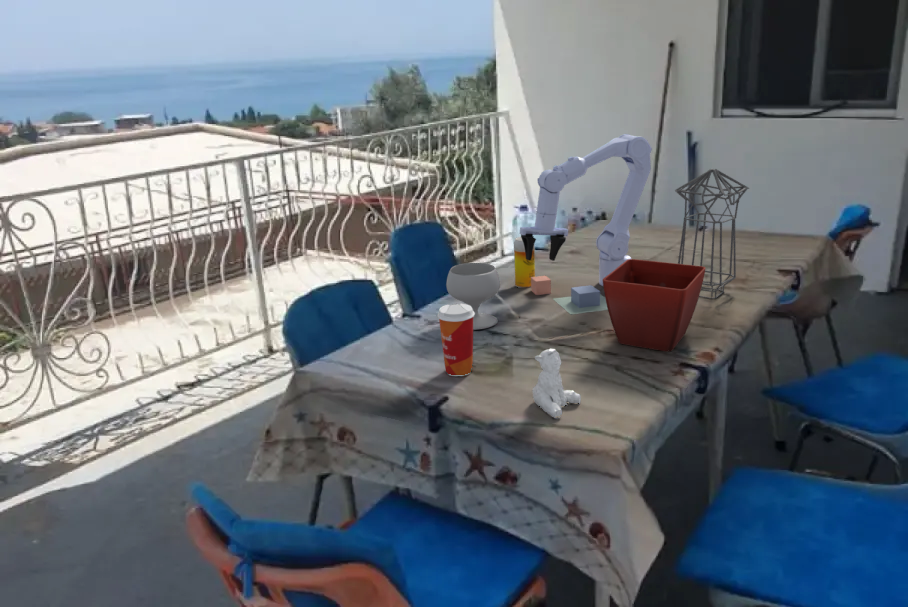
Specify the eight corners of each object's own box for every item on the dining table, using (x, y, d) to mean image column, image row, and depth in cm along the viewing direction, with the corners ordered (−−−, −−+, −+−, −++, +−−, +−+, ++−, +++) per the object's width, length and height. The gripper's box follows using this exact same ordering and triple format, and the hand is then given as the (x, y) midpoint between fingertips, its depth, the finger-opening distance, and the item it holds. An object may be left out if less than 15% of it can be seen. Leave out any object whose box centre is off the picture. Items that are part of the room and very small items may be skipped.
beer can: (534, 289, 212) (533, 241, 208) (513, 289, 214) (512, 241, 209) (536, 283, 218) (535, 236, 213) (516, 283, 219) (515, 236, 214)
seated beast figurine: (556, 421, 136) (556, 363, 132) (520, 408, 141) (519, 353, 137) (583, 402, 142) (583, 347, 139) (547, 391, 148) (546, 338, 144)
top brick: (545, 291, 210) (545, 275, 209) (551, 296, 206) (550, 279, 205) (531, 293, 210) (531, 277, 208) (536, 298, 205) (536, 281, 204)
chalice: (440, 319, 192) (437, 266, 187) (487, 310, 197) (485, 258, 192) (461, 336, 180) (458, 279, 175) (510, 326, 185) (509, 270, 180)
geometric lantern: (666, 295, 201) (672, 171, 191) (691, 282, 212) (698, 164, 202) (721, 305, 191) (730, 174, 181) (744, 291, 202) (754, 166, 191)
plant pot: (681, 360, 159) (685, 289, 153) (599, 347, 169) (601, 279, 163) (702, 332, 174) (706, 266, 169) (626, 321, 184) (628, 258, 178)
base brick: (591, 298, 200) (591, 285, 198) (599, 305, 194) (600, 291, 193) (571, 301, 198) (571, 287, 197) (579, 307, 193) (579, 294, 192)
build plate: (598, 295, 204) (598, 292, 204) (619, 310, 191) (619, 308, 191) (552, 301, 202) (552, 298, 201) (570, 317, 189) (570, 314, 188)
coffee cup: (439, 365, 163) (435, 304, 158) (475, 362, 164) (472, 301, 159) (442, 381, 155) (438, 316, 151) (479, 377, 156) (476, 313, 151)
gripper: (562, 211, 207) (555, 256, 211) (517, 209, 201) (511, 256, 205) (574, 216, 200) (567, 262, 204) (528, 214, 195) (522, 262, 199)
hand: (540, 259), depth 204 cm, fingers open, 7 cm apart
